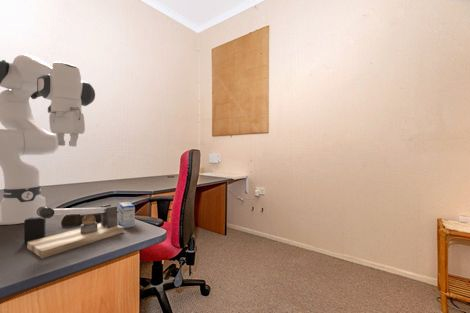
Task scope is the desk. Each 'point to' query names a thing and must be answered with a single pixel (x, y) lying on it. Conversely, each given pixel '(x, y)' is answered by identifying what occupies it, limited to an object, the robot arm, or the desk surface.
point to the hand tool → (76, 219)
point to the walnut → (88, 219)
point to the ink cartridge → (34, 229)
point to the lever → (68, 211)
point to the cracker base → (78, 235)
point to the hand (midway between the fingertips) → (67, 146)
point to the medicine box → (126, 214)
